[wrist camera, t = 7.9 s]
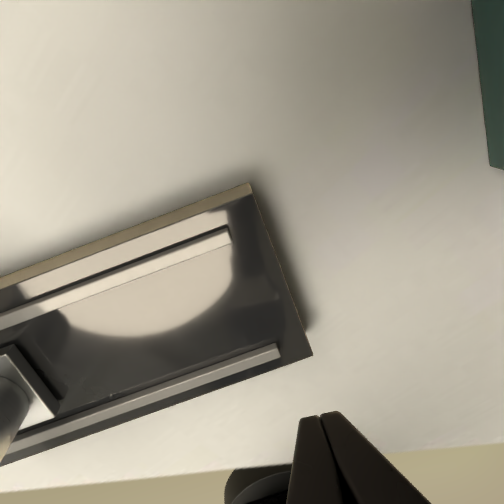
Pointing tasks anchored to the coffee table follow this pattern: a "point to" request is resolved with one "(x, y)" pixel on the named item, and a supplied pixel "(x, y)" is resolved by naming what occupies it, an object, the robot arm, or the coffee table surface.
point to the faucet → (21, 397)
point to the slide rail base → (151, 318)
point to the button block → (491, 72)
